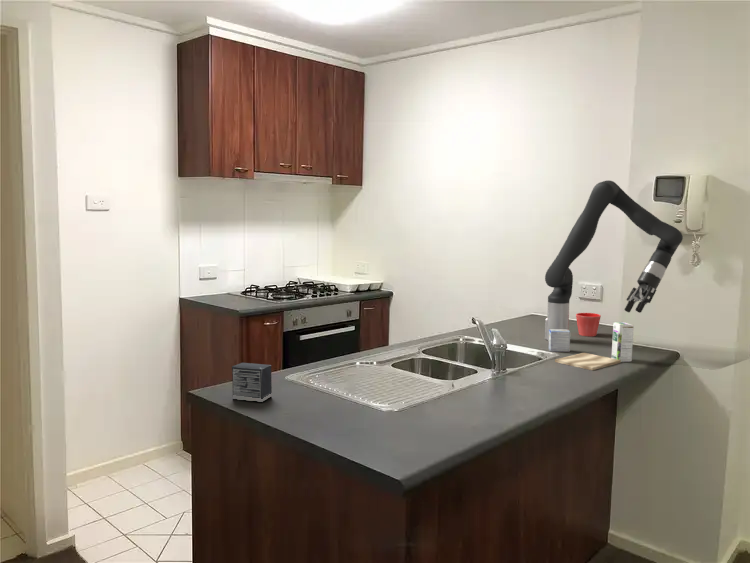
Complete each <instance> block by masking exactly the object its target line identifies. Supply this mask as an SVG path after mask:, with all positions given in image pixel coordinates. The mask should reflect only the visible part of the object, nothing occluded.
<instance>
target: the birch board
mask: <svg viewBox="0 0 750 563" xmlns="http://www.w3.org/2000/svg"><path fill="white" fill-rule="evenodd" d="M554 362H555V363H558V364H562V365H567V366H571V367H575V368H578V369H580V368H581V369H584V370H589V371H596V370H599V369H603V368H605V367H606V368H607V367H610V366H614V365H618V364H620V363H621V360H618V359H613V358H611V357H607V356H603V355H596V354H592V353H588V352H581V353H577V354H572V355H568V356H564V357H560V358H556V359H555V358H554ZM621 364H622V363H621Z"/></svg>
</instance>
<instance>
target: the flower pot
mask: <svg viewBox="0 0 750 563" xmlns="http://www.w3.org/2000/svg"><path fill="white" fill-rule="evenodd" d="M575 318H576V324H577V330H578V335H579V336H582V337H596V336H597V334H598V330H599V326H600V322H601V314H598V313H594V312H593V313H592V312H578V313H576V314H575Z"/></svg>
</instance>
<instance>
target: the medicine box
mask: <svg viewBox="0 0 750 563" xmlns="http://www.w3.org/2000/svg"><path fill="white" fill-rule="evenodd" d="M570 346H571V331H570V330H569V329H568V330H565V329H550V330H549V341H548V351H549V352H558V353H559V352H561V353H564V352H566V353H567V352H568V353H571V352H570V351H571V350H570V349H571V347H570Z"/></svg>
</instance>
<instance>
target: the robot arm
mask: <svg viewBox="0 0 750 563" xmlns="http://www.w3.org/2000/svg"><path fill="white" fill-rule="evenodd" d="M609 204H610V205H612V206H614V207H615V208H617V209H618V210H620V211H621V212H623V213H624V214H625V215H626V216H627V217H628V219H629V221H631V222H632V223H633V224H634V225H635V226H637V227H638V228H639V229H640V230H642V231H643V232H645V233H646V234H647V235H649V236H654V237H657V238H658V239H659V242H658V243H657V246H656V248H655V251H654V252H652V255H651V256H650V258H649V260H648V261H647V263H646V264H645V266H644V268H643V270H642V271H641V273H640V275H639V277H638V279H637V280H636V282H637V284H638V286H637V288H636V287H633V288H631V291H629V292H630V293H629V294H628V295H627V298H626V299H625V300H626V301H627V304H626V305H625V307H624V310H623V311H625V312H627V313H631V312H632V309H633V308H634V305H635V304H636V303H637V302H638V304H637V306H636V307H635V312H637V313H640V314H641V313H642V312H643V310H644V308H645V306H646V305H648V304H650V303H651V301H652V300H653V298H654V296H655V294H656V292H657V288H658V286H659V285H660V283H661V281H662V279H663V278H664V275H665V274H666V270H667V268H668V267H669V265H670V263H671V261H672V257H673V256H674V254H675V253H676V251H677V249H678V248H679V246H680V245H681V243H682V242H683V239H684V238H683V237H684V235H683V233H682V231H680V230H679V229H678V228H677V227H675V226H674V225H672V224H670V223H667V222H665V221H662V220H660V219H659V218H658V217H657V216H655V215H654V214H653V213H651V212H650V211H648V210H647V209H645V208H644V207H643V206H642V205H640V204H639V203H637V201H635V200H634V199H633V198H632V197H631V196H629V195H628V194H627V193H626V192H625V191H624V189H622V188H621V186H620V185H618V184H617V183H616V182H615V181H613V180H603V181H600V182H598V183H596V185H594V187H593V188H592V190H591V193H590V195H589V197H588V199H587V202H586V205H585V206H584V208H583V211H582V212H581V214H580V215H579V216H578V218H577V220H576V222H575V223H574V224H573V227H572V228H571V229H570V230H571V231H570V232H569V233H568V236H566V237H567V238H566V239H565V241H564V243H563V245H562V247H561V248H560V250H559V252H558V254H557V255H556V257H555V258H554V260H553V261H552V263H551V264H550V266H548V269H547V270H546V272H545V276H544V281H545V283H546V285H547V286H549V287H550V288H553V290H552V292H551V293H550V294H548V296H547V317H546V318H545V321H544V322H545V323H544V340H547V341H548V342H549V330H550V329H565V330H569V328H570V327H569V325H570V299H571V297H572V295H573V294H572V293H573V285H574V284H573V282H574V281H573V280H574V278H573V276H574V275H573V272H572V270H571V268H570V266H571V264H573V262H574V261H575V260H576V259H577V258H578V257H579V256H580V255H582V254H583V253H584V252H585V251H586V250H587V248H588V247H589V245H590V243H591V242H592V241H593V238H594V236H595V234H596V232H597V228H598V224H599V220H600V218H601V217H602V215H603V213H604V212H605V210H606V209H607V207H608V206H609Z"/></svg>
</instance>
